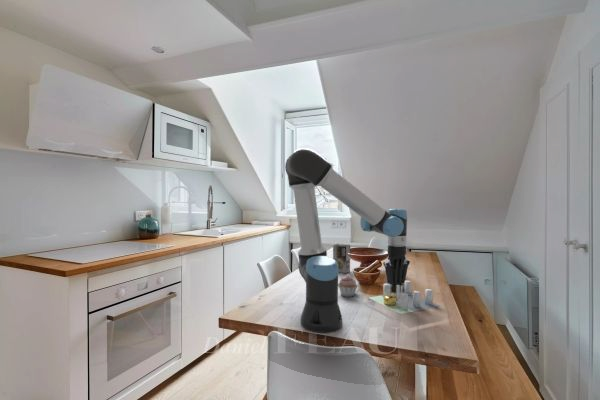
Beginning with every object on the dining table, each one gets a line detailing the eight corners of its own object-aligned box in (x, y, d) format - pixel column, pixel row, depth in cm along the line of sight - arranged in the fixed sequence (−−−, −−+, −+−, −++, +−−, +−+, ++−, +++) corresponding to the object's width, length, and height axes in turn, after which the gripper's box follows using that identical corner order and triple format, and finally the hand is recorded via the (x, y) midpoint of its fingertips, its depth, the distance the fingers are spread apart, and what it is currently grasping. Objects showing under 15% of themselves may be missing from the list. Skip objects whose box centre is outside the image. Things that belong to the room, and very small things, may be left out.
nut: (389, 306, 123) (389, 299, 123) (381, 302, 128) (381, 295, 127) (398, 305, 125) (398, 297, 125) (390, 301, 129) (390, 294, 129)
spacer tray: (400, 316, 116) (400, 298, 115) (368, 299, 134) (368, 284, 134) (440, 308, 125) (441, 291, 125) (405, 293, 143) (405, 279, 143)
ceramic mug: (398, 293, 144) (399, 277, 143) (384, 288, 150) (385, 273, 150) (411, 289, 150) (412, 274, 150) (397, 285, 156) (398, 270, 156)
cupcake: (342, 290, 146) (342, 270, 146) (360, 294, 141) (360, 273, 141) (334, 296, 138) (334, 274, 138) (353, 300, 133) (353, 277, 133)
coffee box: (350, 271, 183) (350, 245, 183) (346, 273, 178) (346, 246, 178) (336, 269, 188) (337, 243, 188) (332, 271, 183) (332, 245, 182)
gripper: (391, 247, 121) (390, 305, 121) (415, 245, 126) (413, 300, 127) (379, 244, 128) (377, 299, 128) (402, 242, 133) (401, 295, 134)
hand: (395, 299), depth 128 cm, fingers closed
